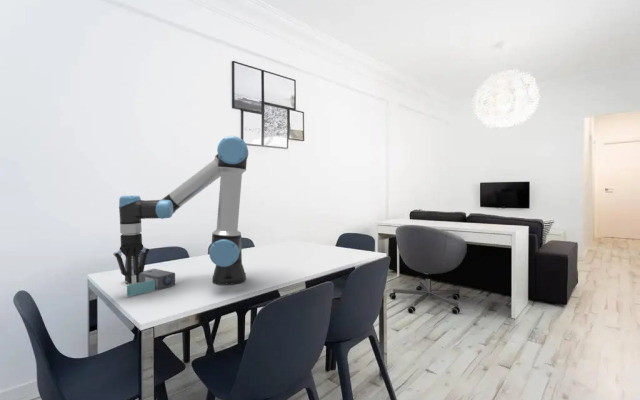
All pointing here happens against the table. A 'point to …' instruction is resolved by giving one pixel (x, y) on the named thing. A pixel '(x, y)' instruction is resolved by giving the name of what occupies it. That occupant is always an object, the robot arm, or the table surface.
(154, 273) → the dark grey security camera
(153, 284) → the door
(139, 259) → the beverage can
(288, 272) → the table surface
